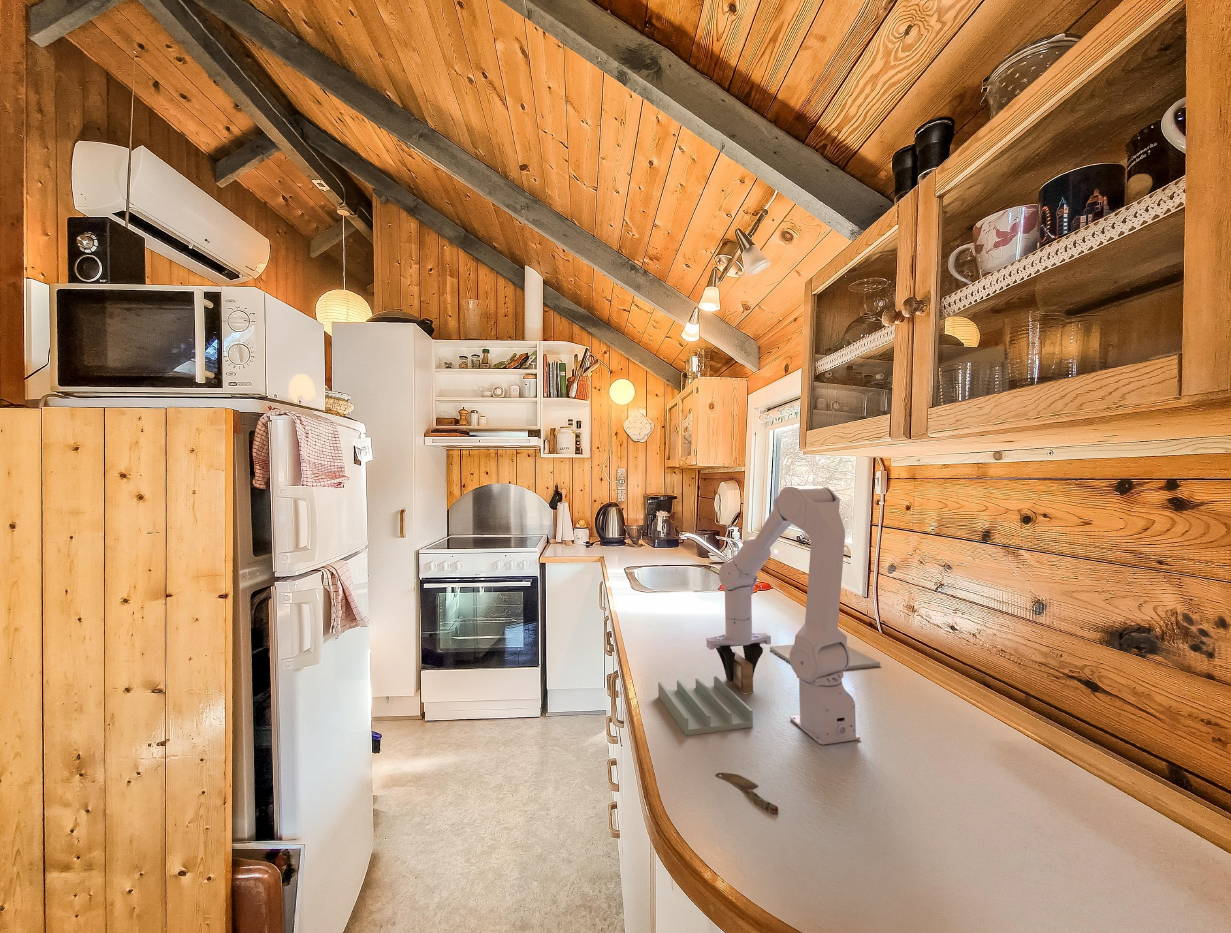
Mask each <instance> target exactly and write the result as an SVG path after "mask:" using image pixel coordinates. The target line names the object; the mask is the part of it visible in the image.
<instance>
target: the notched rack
mask: <svg viewBox="0 0 1231 933" xmlns="http://www.w3.org/2000/svg"><path fill="white" fill-rule="evenodd" d="M657 692H658V698H659V700H660V701H661V702H662V704H663V705H664V706H665V708H666V709H667V711H668V712H669V714H670V716H671V717H672V718H673V719H674V721H675V722H676V724H677V725H678V726H679V729H681V731H682V733H683V734H684V735H685V736H688V737H689V736H695V735H702V734H709V733H715V732H716V733H718V732H725V731H732V730H740V729H741V730H742V729H748V727H749V728H753V727H754V718H753V717H754V714H753V713H754V711H753V709H752V708H751V707H750V706H749V705H748V704H746V703H745V702H744V701H743V700H742V699H741V698H740V697H739V696H738V695H737V694H736V693H735V692H734V691H733V690H732V689H731V688H729V686H727V685H726V684H725V683H724V682H723V681H722V680H721V679H720V678H719V677H718V676H716V675H714V676H713V685H709V686H708V685H707V686H706V684H705V683H704V682H703V681H702V680H701V679H700V678H699V677H695V687H691V688H690V687H689V688H688V687H686V686H685V684H684V683H683V682H682V681H681V680H680V679H676V689H672V690H671V689H670V690H667V688H666V687H665V685H664V684H663V683H662V682H661V681H658V689H657Z"/></svg>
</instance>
